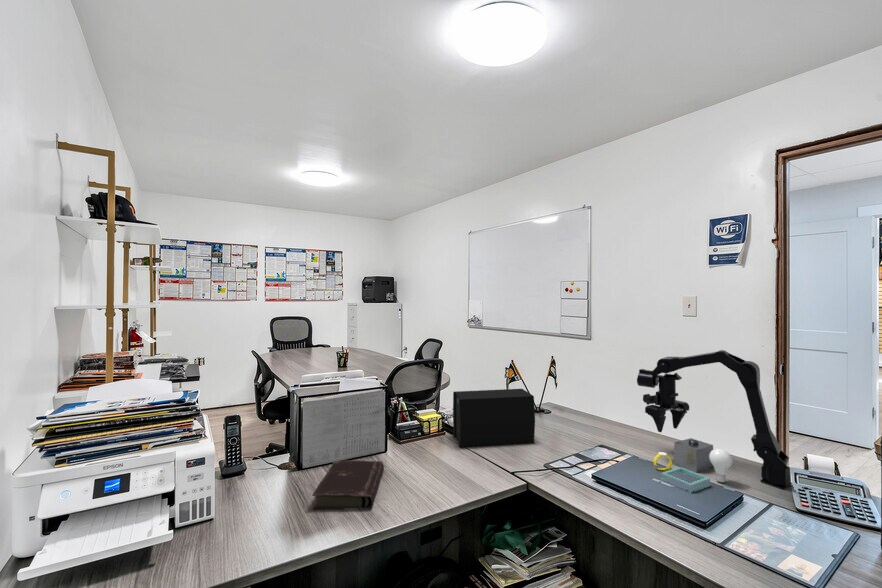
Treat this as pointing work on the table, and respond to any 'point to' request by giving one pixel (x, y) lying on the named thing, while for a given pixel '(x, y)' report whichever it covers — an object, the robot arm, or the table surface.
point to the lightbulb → (720, 463)
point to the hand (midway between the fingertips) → (667, 430)
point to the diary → (349, 485)
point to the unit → (692, 455)
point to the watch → (663, 456)
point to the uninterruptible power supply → (493, 417)
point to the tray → (680, 469)
